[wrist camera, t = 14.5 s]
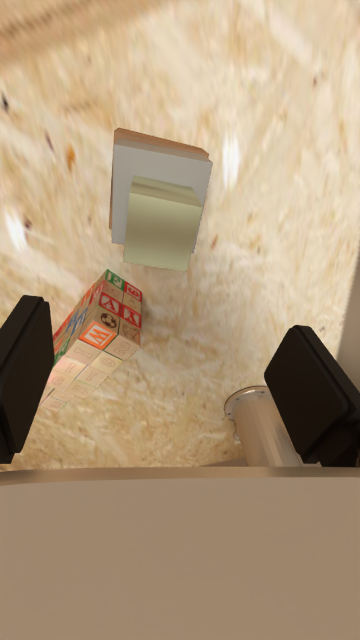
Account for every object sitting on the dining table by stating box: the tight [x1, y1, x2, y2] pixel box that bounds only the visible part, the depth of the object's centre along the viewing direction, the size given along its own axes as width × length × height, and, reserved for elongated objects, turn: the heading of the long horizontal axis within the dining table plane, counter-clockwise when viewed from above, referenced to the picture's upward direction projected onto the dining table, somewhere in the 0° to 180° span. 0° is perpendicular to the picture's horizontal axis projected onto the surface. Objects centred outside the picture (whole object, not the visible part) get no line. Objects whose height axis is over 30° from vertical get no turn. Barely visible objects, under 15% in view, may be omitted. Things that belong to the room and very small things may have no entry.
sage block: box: [123, 175, 203, 272], centre depth 22 cm, size 5×5×6 cm
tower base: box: [109, 128, 209, 229], centre depth 30 cm, size 9×9×5 cm
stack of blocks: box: [39, 269, 142, 412], centre depth 39 cm, size 21×6×12 cm, turn 138°
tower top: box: [112, 138, 213, 253], centre depth 26 cm, size 8×8×5 cm
